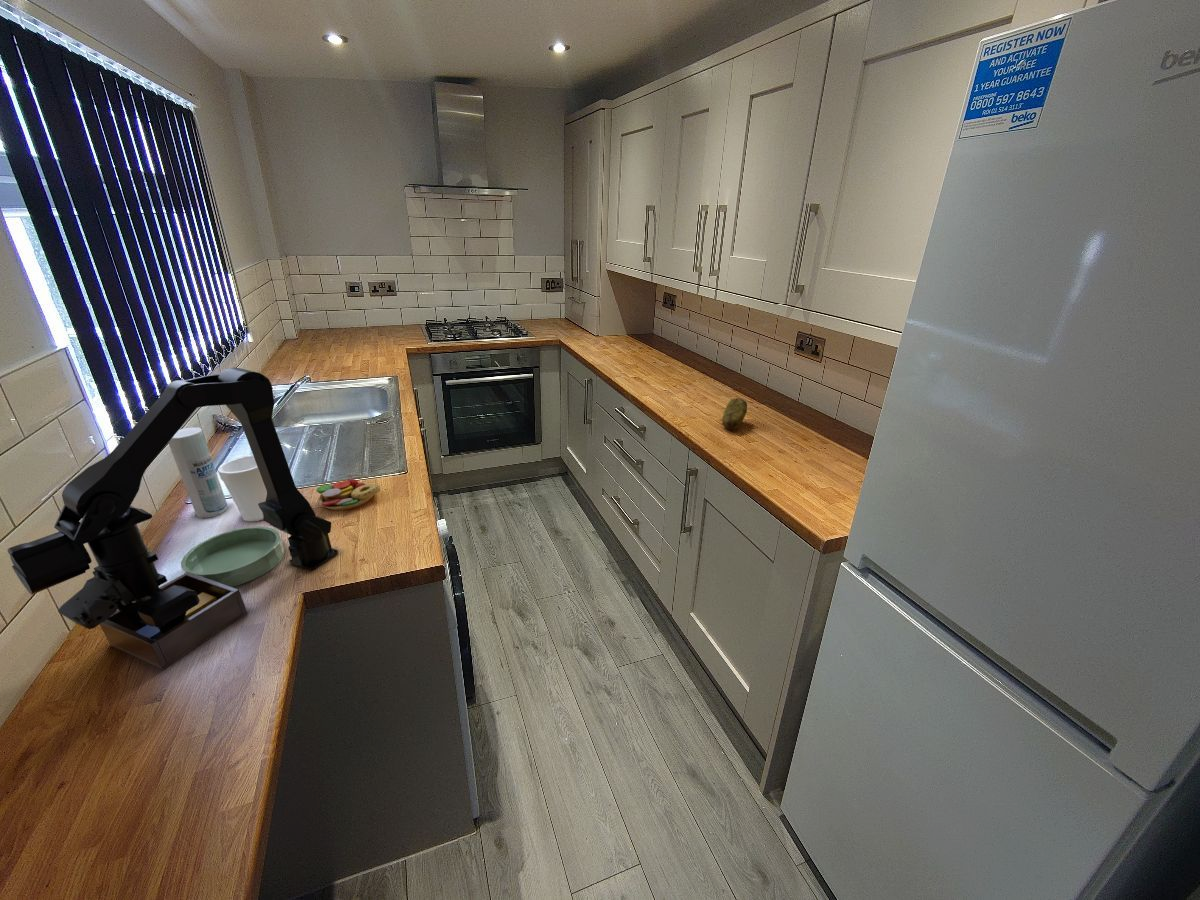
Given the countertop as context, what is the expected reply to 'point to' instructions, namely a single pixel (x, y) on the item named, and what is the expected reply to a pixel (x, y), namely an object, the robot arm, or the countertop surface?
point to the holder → (185, 633)
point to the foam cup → (244, 486)
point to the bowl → (235, 555)
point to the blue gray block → (150, 632)
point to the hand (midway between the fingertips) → (159, 635)
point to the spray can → (198, 472)
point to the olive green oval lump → (734, 413)
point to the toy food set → (346, 494)
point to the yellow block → (201, 604)
